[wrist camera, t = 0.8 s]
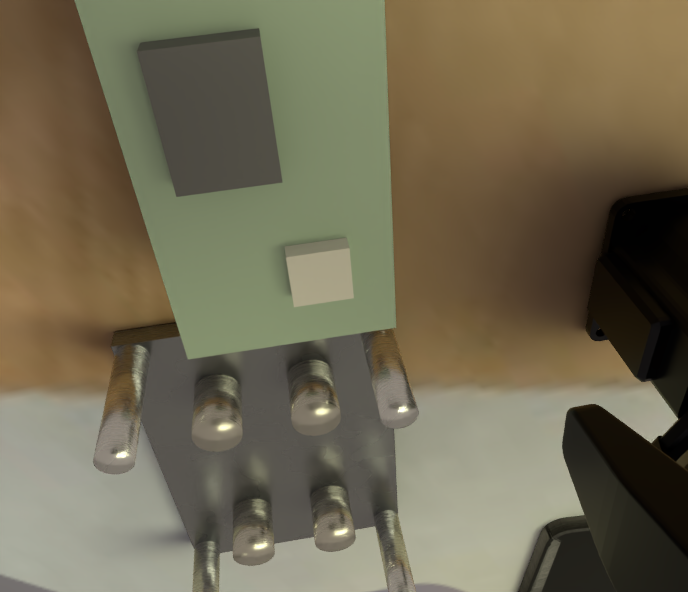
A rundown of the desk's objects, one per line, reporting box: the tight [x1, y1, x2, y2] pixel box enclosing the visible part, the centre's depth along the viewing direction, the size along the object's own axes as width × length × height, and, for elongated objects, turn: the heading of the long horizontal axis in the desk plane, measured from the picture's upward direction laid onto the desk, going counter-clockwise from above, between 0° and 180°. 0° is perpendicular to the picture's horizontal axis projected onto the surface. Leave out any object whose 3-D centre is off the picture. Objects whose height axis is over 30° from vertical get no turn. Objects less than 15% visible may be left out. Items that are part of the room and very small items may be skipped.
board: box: [75, 0, 396, 359], centre depth 15 cm, size 6×10×2 cm, turn 4°
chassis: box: [93, 323, 419, 592], centre depth 26 cm, size 10×14×6 cm
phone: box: [518, 515, 616, 592], centre depth 40 cm, size 8×1×15 cm
